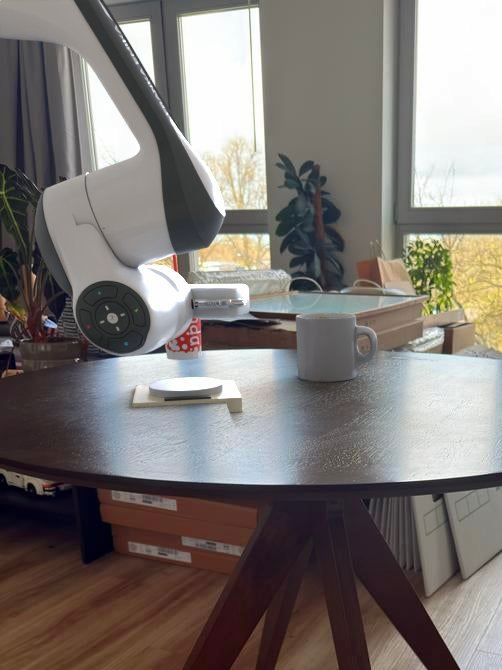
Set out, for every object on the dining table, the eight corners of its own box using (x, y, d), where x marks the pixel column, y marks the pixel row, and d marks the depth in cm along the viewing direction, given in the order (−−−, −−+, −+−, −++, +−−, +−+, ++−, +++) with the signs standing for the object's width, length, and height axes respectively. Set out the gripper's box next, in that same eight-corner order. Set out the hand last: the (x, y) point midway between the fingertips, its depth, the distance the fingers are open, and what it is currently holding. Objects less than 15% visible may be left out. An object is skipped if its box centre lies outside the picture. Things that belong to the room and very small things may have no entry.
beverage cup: (175, 362, 95) (163, 249, 90) (153, 357, 99) (140, 249, 94) (215, 357, 99) (206, 248, 94) (193, 352, 103) (183, 248, 98)
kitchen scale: (134, 418, 94) (131, 395, 93) (137, 398, 106) (135, 378, 105) (242, 411, 98) (241, 389, 97) (234, 393, 109) (233, 373, 108)
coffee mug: (290, 380, 119) (287, 318, 116) (309, 370, 128) (307, 312, 125) (368, 383, 117) (367, 320, 113) (382, 373, 126) (382, 314, 122)
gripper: (241, 275, 84) (255, 271, 97) (61, 276, 83) (100, 272, 96) (245, 331, 86) (258, 319, 99) (70, 333, 85) (107, 321, 98)
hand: (179, 296), depth 97 cm, fingers closed on beverage cup, 6 cm apart
